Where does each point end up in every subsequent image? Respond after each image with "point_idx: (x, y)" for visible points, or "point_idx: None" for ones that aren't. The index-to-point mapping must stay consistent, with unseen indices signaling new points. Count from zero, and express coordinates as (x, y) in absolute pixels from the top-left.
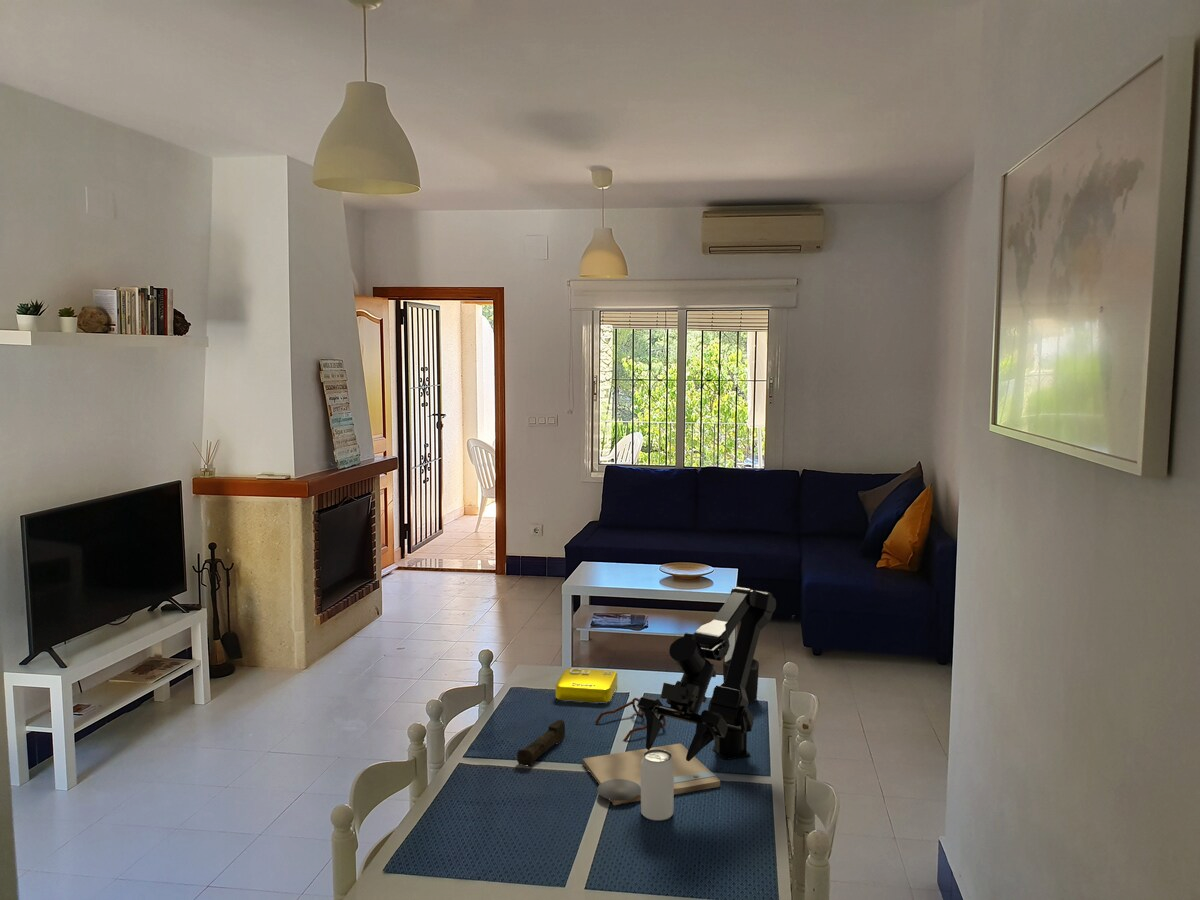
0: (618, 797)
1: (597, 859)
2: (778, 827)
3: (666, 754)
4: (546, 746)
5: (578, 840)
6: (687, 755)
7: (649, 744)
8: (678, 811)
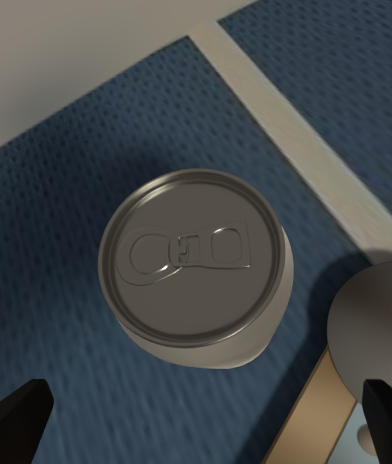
0: (367, 286)
1: (221, 89)
2: None
3: (156, 317)
4: None
5: (300, 106)
6: (22, 392)
7: (378, 416)
8: (176, 367)
